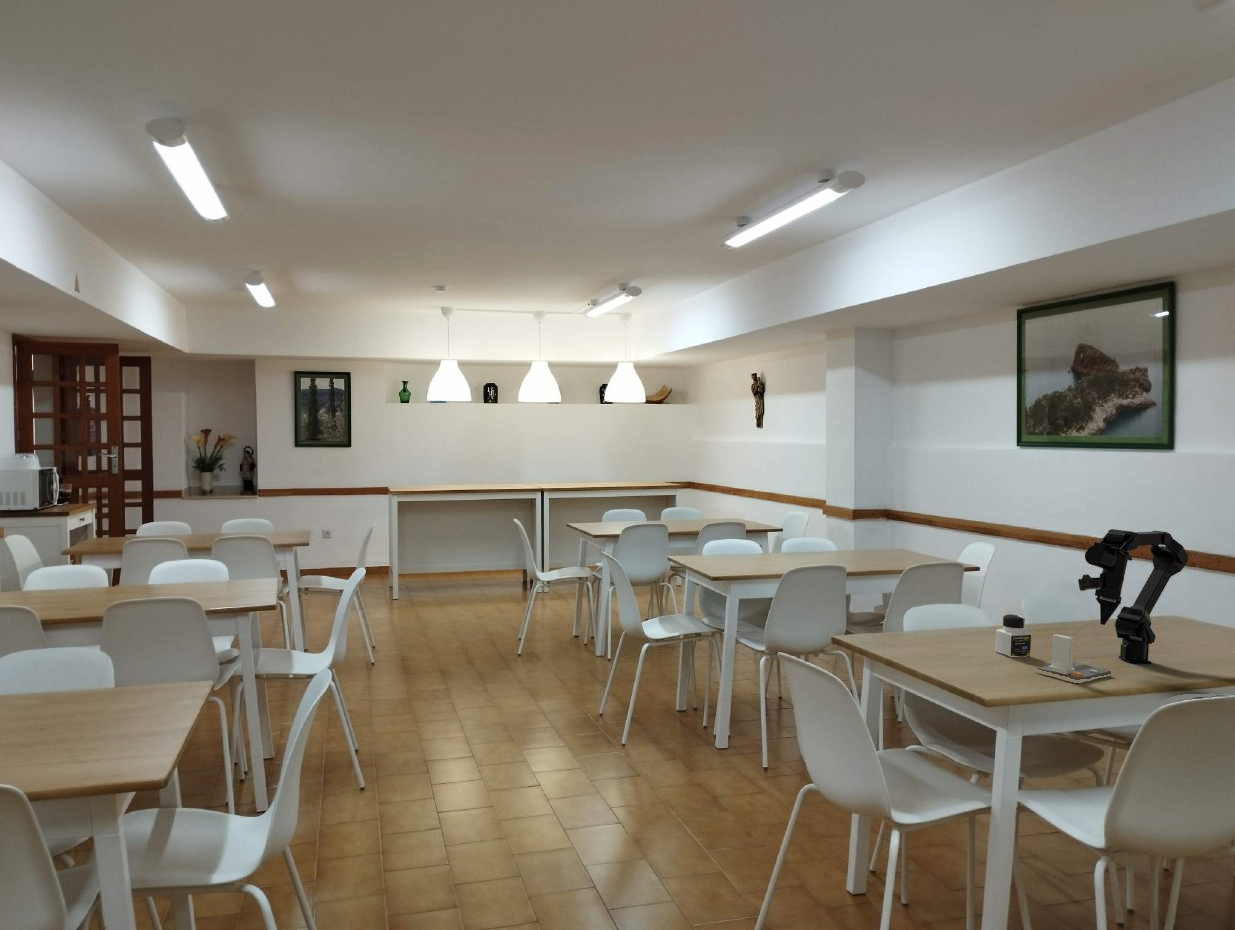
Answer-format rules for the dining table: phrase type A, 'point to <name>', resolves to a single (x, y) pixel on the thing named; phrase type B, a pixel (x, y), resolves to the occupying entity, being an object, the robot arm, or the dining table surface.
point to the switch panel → (1080, 671)
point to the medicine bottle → (1013, 637)
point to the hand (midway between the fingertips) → (1102, 624)
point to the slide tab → (1062, 654)
